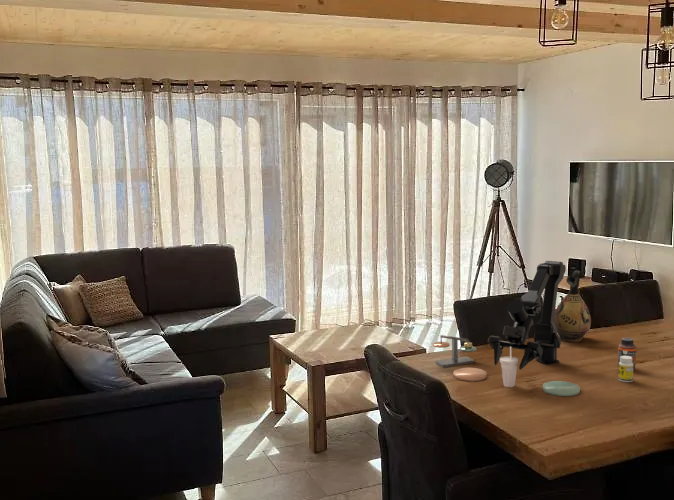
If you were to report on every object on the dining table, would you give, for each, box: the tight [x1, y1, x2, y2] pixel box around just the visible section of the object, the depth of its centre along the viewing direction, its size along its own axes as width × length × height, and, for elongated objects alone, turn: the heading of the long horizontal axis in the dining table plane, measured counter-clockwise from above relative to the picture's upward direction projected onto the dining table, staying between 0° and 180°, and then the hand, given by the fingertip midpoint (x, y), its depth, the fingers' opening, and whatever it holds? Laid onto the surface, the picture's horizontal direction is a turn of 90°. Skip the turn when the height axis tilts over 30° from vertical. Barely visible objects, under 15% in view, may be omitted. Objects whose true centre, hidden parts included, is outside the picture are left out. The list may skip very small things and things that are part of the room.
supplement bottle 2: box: [617, 356, 634, 383], centre depth 232 cm, size 5×5×8 cm
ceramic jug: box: [554, 270, 592, 343], centre depth 286 cm, size 17×15×30 cm
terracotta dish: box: [453, 367, 488, 382], centre depth 243 cm, size 12×12×1 cm
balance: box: [432, 334, 477, 368], centre depth 259 cm, size 18×6×12 cm, turn 110°
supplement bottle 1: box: [617, 337, 637, 371], centre depth 245 cm, size 6×6×11 cm
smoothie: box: [499, 347, 519, 388], centre depth 231 cm, size 6×6×14 cm
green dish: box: [542, 380, 581, 397], centre depth 225 cm, size 12×12×1 cm
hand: (507, 366), depth 230 cm, fingers open, 9 cm apart
